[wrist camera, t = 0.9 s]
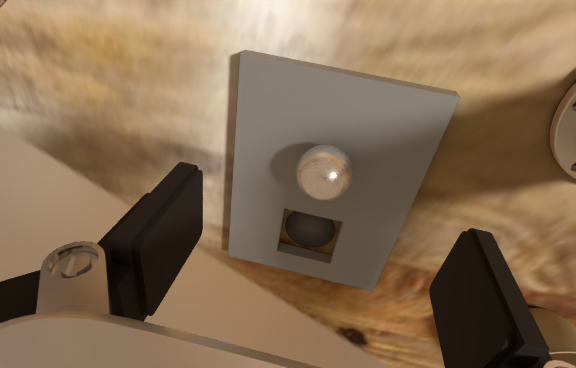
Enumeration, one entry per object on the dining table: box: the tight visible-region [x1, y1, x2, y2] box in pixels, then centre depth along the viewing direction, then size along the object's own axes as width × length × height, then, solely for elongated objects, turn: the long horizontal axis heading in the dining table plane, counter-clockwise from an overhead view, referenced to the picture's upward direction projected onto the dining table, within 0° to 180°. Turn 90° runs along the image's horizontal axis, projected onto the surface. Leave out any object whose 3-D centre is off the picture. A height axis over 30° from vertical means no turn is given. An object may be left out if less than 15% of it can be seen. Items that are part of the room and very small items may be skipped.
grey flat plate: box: [228, 50, 460, 292], centre depth 34 cm, size 18×24×2 cm
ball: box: [296, 145, 353, 202], centre depth 29 cm, size 5×5×5 cm
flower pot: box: [529, 308, 576, 367], centre depth 36 cm, size 10×10×7 cm
